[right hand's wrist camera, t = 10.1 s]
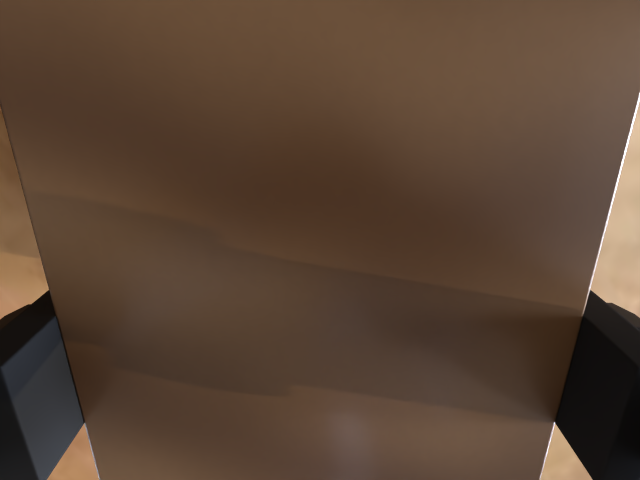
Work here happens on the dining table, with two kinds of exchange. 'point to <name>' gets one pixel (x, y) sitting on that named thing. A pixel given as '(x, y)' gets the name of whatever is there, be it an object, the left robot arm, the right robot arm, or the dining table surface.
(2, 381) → the right robot arm
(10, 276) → the dining table surface
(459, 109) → the cabinet
